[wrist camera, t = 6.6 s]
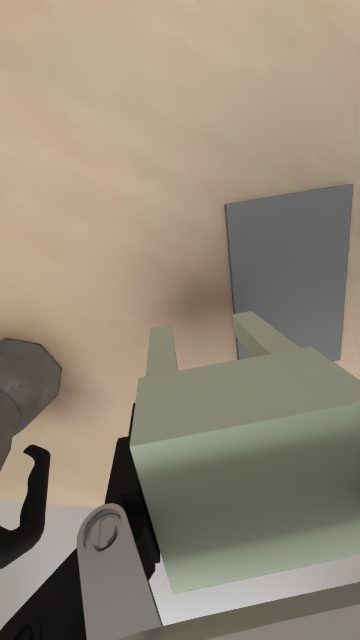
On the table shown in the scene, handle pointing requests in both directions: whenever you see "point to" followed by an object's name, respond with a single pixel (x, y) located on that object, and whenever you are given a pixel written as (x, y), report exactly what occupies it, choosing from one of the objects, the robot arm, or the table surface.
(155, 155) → the table surface
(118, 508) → the robot arm
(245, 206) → the mat
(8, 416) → the coffeepot
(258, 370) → the pale green stool
